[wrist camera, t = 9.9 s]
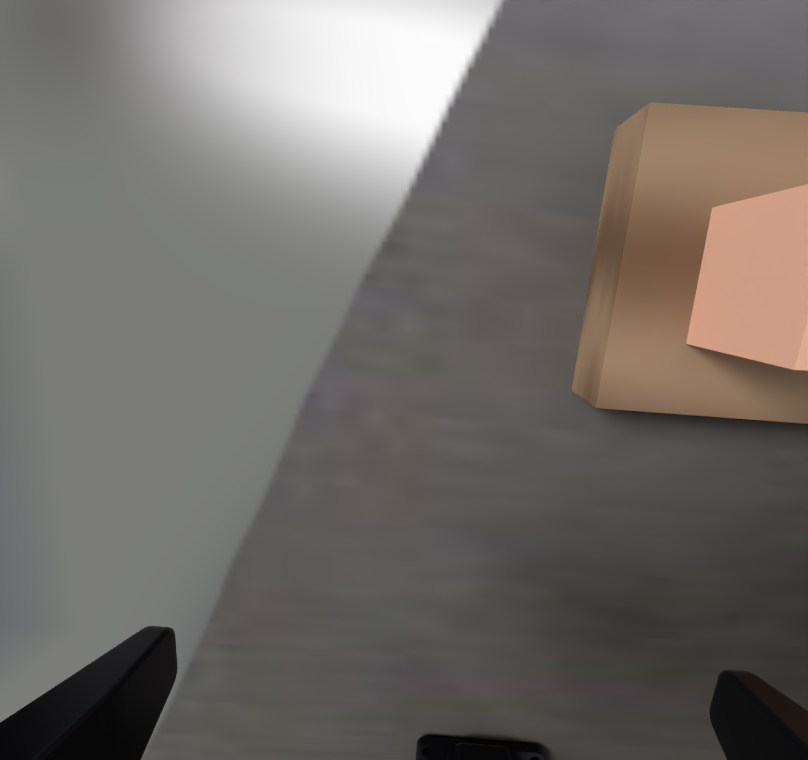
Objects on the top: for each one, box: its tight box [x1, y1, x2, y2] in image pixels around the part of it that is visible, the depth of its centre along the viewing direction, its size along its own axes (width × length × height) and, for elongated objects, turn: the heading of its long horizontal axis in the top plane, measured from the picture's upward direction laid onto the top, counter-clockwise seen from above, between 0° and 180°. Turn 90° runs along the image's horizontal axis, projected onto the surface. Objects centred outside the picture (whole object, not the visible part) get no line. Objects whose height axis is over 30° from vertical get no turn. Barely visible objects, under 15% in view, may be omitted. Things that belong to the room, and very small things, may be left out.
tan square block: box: [572, 103, 808, 424], centre depth 16 cm, size 10×10×3 cm
